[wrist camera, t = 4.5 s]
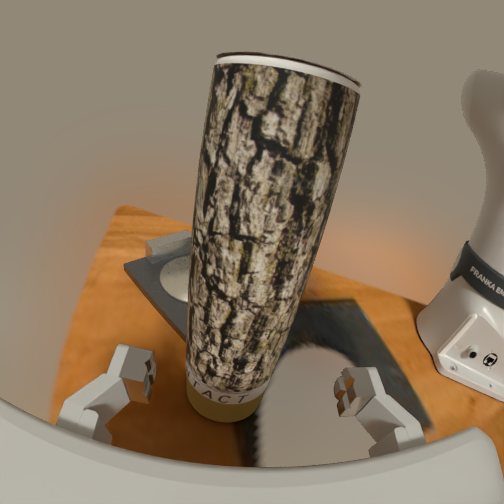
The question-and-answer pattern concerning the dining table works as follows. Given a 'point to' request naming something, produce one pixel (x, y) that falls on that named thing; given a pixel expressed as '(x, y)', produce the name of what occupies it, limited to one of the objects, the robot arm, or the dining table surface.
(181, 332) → the collar plate
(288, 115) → the paper tube
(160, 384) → the dining table surface
